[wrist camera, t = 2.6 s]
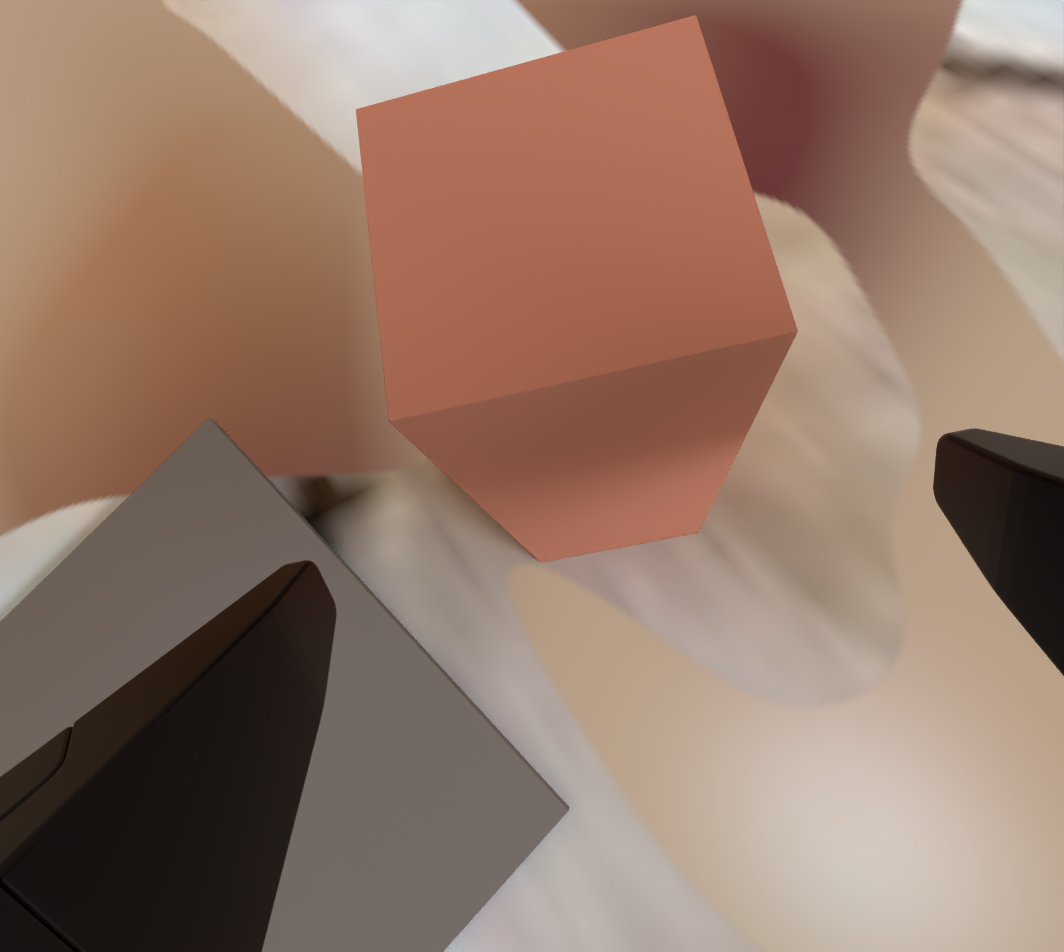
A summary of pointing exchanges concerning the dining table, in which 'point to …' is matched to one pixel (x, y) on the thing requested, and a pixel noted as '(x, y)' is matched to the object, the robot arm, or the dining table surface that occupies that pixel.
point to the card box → (574, 288)
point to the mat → (346, 723)
